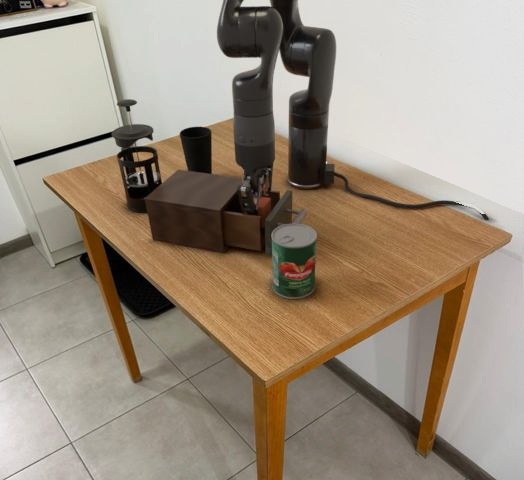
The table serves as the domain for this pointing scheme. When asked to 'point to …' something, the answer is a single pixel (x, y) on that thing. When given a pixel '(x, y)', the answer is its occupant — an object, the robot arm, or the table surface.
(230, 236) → the drawer
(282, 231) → the canned tomato
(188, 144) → the cup
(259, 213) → the block
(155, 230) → the cabinet
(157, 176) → the french press
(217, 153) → the table surface
